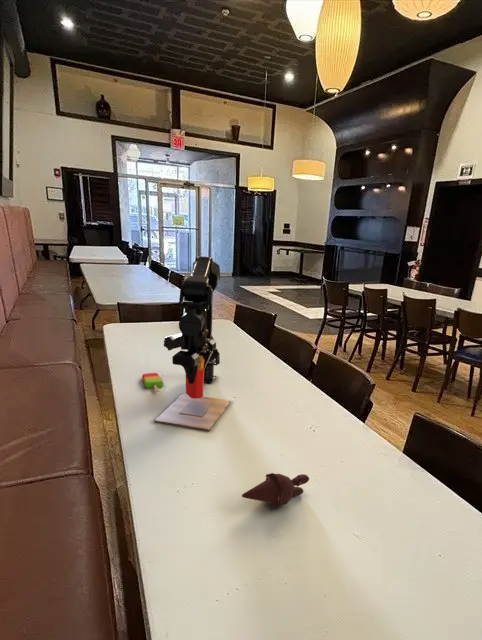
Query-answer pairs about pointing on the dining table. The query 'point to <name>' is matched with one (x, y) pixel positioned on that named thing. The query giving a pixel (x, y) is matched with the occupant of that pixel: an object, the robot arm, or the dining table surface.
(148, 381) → the popsicle
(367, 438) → the dining table surface
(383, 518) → the dining table surface
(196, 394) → the french fries
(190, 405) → the placemat
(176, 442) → the dining table surface
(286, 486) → the icecream
